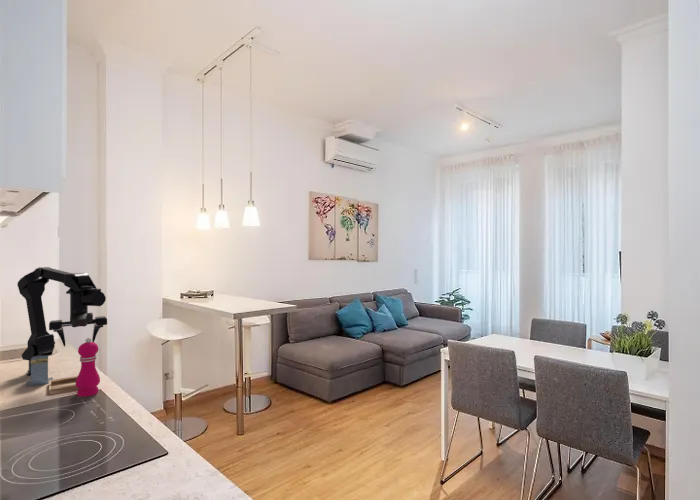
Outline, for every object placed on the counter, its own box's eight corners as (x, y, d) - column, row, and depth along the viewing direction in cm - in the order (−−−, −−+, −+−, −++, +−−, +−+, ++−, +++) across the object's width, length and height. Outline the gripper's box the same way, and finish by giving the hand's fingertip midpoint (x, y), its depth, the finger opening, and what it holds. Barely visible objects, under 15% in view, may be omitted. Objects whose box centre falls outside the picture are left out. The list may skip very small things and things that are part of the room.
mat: (26, 382, 150) (26, 381, 150) (52, 378, 155) (52, 377, 155) (25, 388, 144) (25, 387, 144) (52, 384, 148) (52, 383, 148)
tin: (31, 380, 151) (31, 357, 150) (48, 378, 154) (48, 355, 154) (30, 386, 145) (30, 361, 145) (47, 383, 148) (48, 359, 148)
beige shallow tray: (49, 385, 147) (49, 380, 147) (81, 380, 153) (81, 375, 153) (49, 395, 137) (49, 389, 137) (83, 389, 144) (83, 384, 143)
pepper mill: (104, 392, 141) (105, 337, 141) (83, 399, 135) (84, 341, 134) (91, 389, 144) (92, 334, 144) (70, 395, 138) (71, 338, 137)
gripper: (48, 310, 143) (48, 352, 143) (108, 305, 154) (108, 345, 154) (49, 306, 152) (49, 346, 152) (106, 302, 163) (106, 339, 163)
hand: (79, 344), depth 155 cm, fingers open, 9 cm apart
